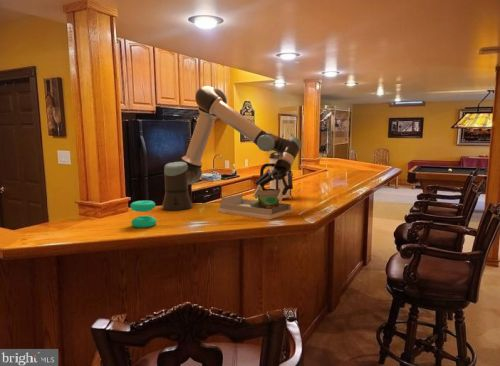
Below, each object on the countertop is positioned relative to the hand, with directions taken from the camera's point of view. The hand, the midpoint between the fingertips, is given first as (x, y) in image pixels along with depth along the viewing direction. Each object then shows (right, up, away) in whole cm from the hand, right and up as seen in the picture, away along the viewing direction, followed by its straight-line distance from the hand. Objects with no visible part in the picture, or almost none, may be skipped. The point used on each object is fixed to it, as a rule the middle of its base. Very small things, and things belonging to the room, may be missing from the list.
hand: (266, 198), depth 171 cm
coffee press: (+9, -3, +42) cm, 43 cm away
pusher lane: (-5, -7, +8) cm, 12 cm away
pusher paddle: (-5, -5, +7) cm, 10 cm away
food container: (+2, -6, +2) cm, 7 cm away
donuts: (-52, -11, -16) cm, 55 cm away
